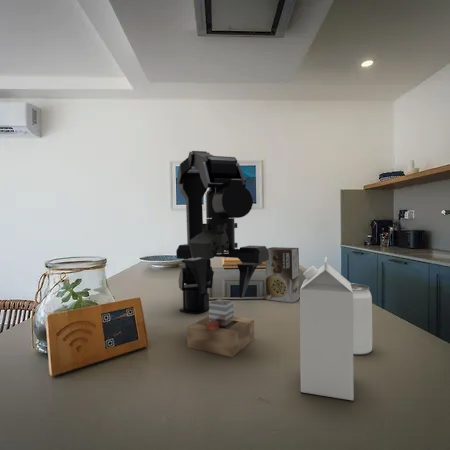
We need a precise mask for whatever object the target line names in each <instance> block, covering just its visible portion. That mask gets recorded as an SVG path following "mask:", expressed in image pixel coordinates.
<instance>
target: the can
mask: <svg viewBox="0 0 450 450" xmlns="http://www.w3.org/2000/svg"><path fill="white" fill-rule="evenodd" d="M350 284H351V287H352V291H353V356H354V355H356V356H362V355H368V354H370V353H371V352H372V351H373V299H372V298H373V297H372V293H371V291H370V287H369V286H367V285H366V284H360V283H350Z"/></svg>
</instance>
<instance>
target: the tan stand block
mask: <svg viewBox="0 0 450 450" xmlns="http://www.w3.org/2000/svg"><path fill="white" fill-rule="evenodd" d="M209 320H210V318H209V315H208V316H206V317H203V318H202V319H200V320H198V321H195V322H194V323H192V324H191V325H188V326H187V328H186V329H187V348H189V349H195V350H198V351H199V350H200V351H202V352H203V351H204V352H207V353H211V354H217V355H221V356H225V357H230V358H234V357H235V356H236V355H237V354H238V353H239V352H241V350H244V348H245V347H246V346H248V345H249V344H250V343H252V341H253V340H255V319H253V318H246V317H238V316H234V325H233V326H231V327H230V328H228V329H223V328H219V322H218V321H210V322H209Z"/></svg>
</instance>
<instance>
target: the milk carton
mask: <svg viewBox="0 0 450 450" xmlns="http://www.w3.org/2000/svg"><path fill="white" fill-rule="evenodd" d="M302 275H303V276H304V277H305V279H304V280H303V282H302V284H301V286H300V287H299V297H300V299H299V346H300V347H299V350H300V351H299V353H300V354H299V357H300V358H299V359H300V360H299V362H300V364H299V367H300V368H299V371H300V393H303V394H311V395H317V396H324V397H329V398H330V397H331V398H335V399H341V400H346V401H347V400H349V401H354V400H355V399H354V389H355V388H354V354H353V291H352V287H351V284H352V283H351V282H350V281H349V280H348V279H347V278H345V277H344V276H343V275H342V274H341V273H339V272H338V271H337V270H336V269H335V268H334V267H332V266H331V265H330V264H329V263H328V256H325V258H324V264H323V265H322V266H320V267H319V268H317V267H316V266H315V265H312V266H310V267H309V268H307V269H306V270H305V271H304V272H303V274H302Z"/></svg>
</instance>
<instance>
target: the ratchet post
mask: <svg viewBox="0 0 450 450" xmlns="http://www.w3.org/2000/svg"><path fill="white" fill-rule="evenodd" d="M234 303H235V301H234V300H228V299H220V298H218V299H216V300H213V301H211V302H209V309H208V313H209V314H208V316H209V318H210V320H209V322H210V321H218V322H219V328H223V329H228V328H230V327H231V326H233V325H234V317H235V307H234Z"/></svg>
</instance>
